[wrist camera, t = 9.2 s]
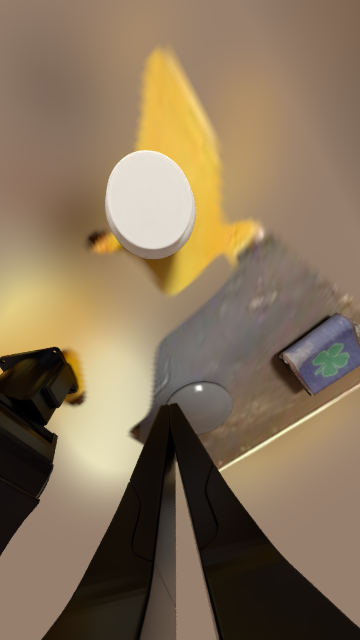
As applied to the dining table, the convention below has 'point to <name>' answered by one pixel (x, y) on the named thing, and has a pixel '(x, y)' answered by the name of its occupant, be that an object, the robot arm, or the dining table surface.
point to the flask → (324, 354)
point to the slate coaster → (203, 405)
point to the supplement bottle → (150, 205)
